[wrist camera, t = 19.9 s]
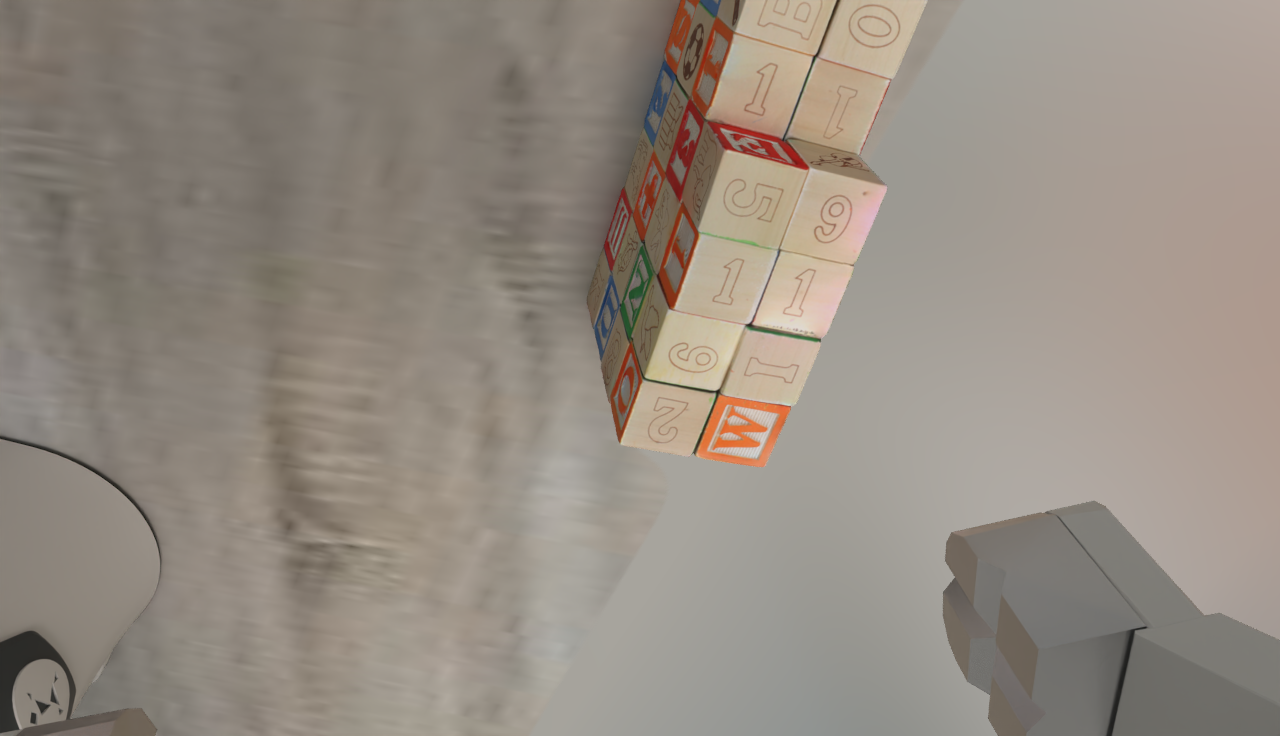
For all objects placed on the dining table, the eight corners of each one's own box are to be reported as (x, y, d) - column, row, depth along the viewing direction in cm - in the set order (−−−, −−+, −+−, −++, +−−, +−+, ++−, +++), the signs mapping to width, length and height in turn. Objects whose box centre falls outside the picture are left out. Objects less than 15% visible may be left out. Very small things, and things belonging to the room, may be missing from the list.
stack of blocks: (731, -180, 36) (836, -168, 26) (873, -127, 38) (1025, -96, 28) (584, 302, 46) (617, 450, 36) (702, 326, 48) (766, 474, 37)
